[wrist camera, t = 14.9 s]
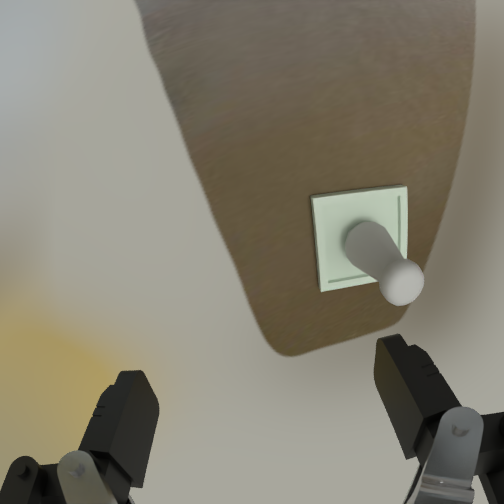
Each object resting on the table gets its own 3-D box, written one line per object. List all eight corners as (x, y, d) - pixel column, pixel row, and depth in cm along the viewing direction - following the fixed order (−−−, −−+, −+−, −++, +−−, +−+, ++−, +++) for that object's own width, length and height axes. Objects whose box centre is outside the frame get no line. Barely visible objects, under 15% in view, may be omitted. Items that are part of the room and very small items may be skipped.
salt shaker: (390, 228, 37) (445, 273, 25) (368, 267, 39) (411, 323, 27) (354, 208, 36) (402, 248, 24) (331, 249, 38) (367, 305, 26)
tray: (310, 195, 36) (312, 198, 35) (401, 184, 36) (407, 186, 34) (318, 286, 40) (321, 291, 39) (401, 270, 40) (405, 275, 39)
